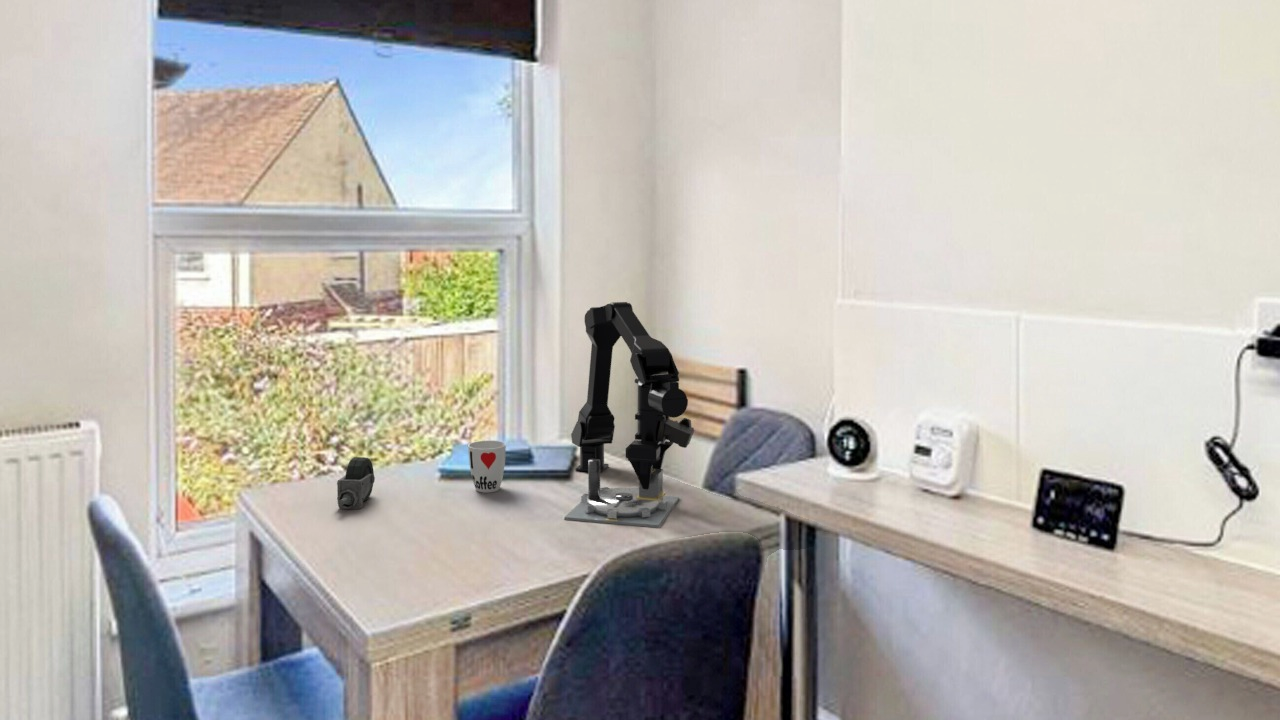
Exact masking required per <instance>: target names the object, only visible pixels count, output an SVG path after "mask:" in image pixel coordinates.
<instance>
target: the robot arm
mask: <svg viewBox="0 0 1280 720" xmlns="http://www.w3.org/2000/svg"><path fill="white" fill-rule="evenodd" d="M584 325H585V333H586V334H587V336H588V339H589V340H590V343H591V350H590V351H591V352H590V361H589V373H588V374H589V375H588V385H587V387H588V388H587V395H586V397H587V399H586V402H585V403H584V405H583V406H582V407H581V409H580V410H579V412H578V417H577V421H576V423H575V425H574V427H573V430H572V431H571V434H570V436H571V443H572V444H573V445H575V446H577V447H578V448H579V464H578V466H576V467H575V471H577V472H587V473H588V460H589V459H600V473H602V472H604V470H606V469H607V468H609V463H605V445H606V444H611V445H612V443H613V440H614V434H615V427H616V425H615V423H614V422H615V418H616V417H615V416H614V414H613V413H612V412H611V411H612V410H610V409H611V408H609V406H608V405H609V403H608V402H609V392H610V383H611V382H610V381H611V380H610V379H611V371H612V370H611V369H612V360H613V349H614V346H615V345H616V344H617V342H618V341H619V340H620V338H621V337H622V340H623V341H624V342H625V344H626V346H627V347H628V349H629V351H630V352H631V355H630V360H629V361H630V364H631V367H632V369H633V372H634V374H635V376H636V378H635V379H634V383H635V384H637V413H636V414H634V420H637V432H636V433H635V435H634V440H633V441H632V442H631V443H630V444H628V446H627V447H625V458H626V459H627V462H628V461H629V463H630V464H631V467H632V468H633V471H634V472H635V475H636V477H637V479H638V482H639V481H640V483H641V486H642V488H643V489H646V490H648V489H649V485H650V479H651V473H652V469H662V467H663V463H664V459H665V455H666V452H667V450H668V449H670V448H671V447H672V446H673V444H675V445H676V444H677V446H678V447H681V448H684V449H685V448H687V447H688V445H689V446H690V443H691V439H692V438H693V435H694V432H695V428H694V427H692V420H691V419H689V418H686V417H684V418H682V419H681V420H680V421H679V422H678V421H677V420H673V419H670V418H674V419H675V418H678V417H680V416H682V415H683V414H684V413H685V412H686V410H687V408H688V406H689V405H688V404H689V399H688V397H687V395H686V392H685V391H684V390H682V389H681V388H679V387H680V386H679V384H680V383H679V382H680V377H679V374H680V372H679V370H678V368H677V365H676V363H675V360H674V358H673V354H672V353H671V351H670V349H669V348H668V347H667V346H666V345H665V344H664V342H662V341H661V340H658V339H655V338H654V337H652V336H650V334H649V333H648V331H647V330H646V328H645V326H644V325H643V324H642V322H641V321H640V320H639V318H638V317H637V314H635V312H634V309H633V306H632V304H631V303H630V302H629V303H628V301H617V302H615V301H613V302H610V303H607V304H605V305H601V306H597V307H596V306H595V307H594V306H593V307H589V309H588V310H587V311H586V313H585V314H584Z"/></svg>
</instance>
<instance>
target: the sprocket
mask: <svg viewBox="0 0 1280 720" xmlns="http://www.w3.org/2000/svg"><path fill="white" fill-rule="evenodd" d="M587 473H588V474H587V476H588V478H587V479H588V483H587V485H588V487H587V488H588V492H587V493H583V494H582V495H581V496H580V497H581V499H580V500H581V501H580V502H581V503H585V504H583V511H585V512H587V513H590V512H595V513H598V514H601V515H606V516H608V518H615V519H617V517H632V516H640V517H648V516H650V513H653V512H655V511H657V510H658V509H663V510H665V509H666V508H667V500H663V496H666V494H667V492H666V491H663V493H662V494H661V495H660V497H659V498H649V497H639V486H634V485H633V486H632V485H630V486H629V487H611V488H610V487H607V486H603V487H601V472H600V459H589V460H588V472H587Z"/></svg>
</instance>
